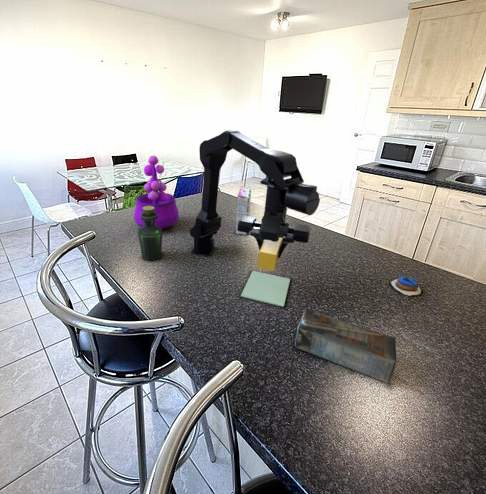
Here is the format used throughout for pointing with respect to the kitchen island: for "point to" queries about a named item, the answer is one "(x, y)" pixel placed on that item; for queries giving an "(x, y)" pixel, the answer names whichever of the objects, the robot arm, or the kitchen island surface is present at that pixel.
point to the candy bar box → (243, 206)
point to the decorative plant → (156, 198)
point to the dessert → (406, 285)
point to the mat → (266, 288)
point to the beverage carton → (347, 345)
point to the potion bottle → (150, 235)
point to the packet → (269, 254)
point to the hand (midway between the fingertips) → (270, 256)
